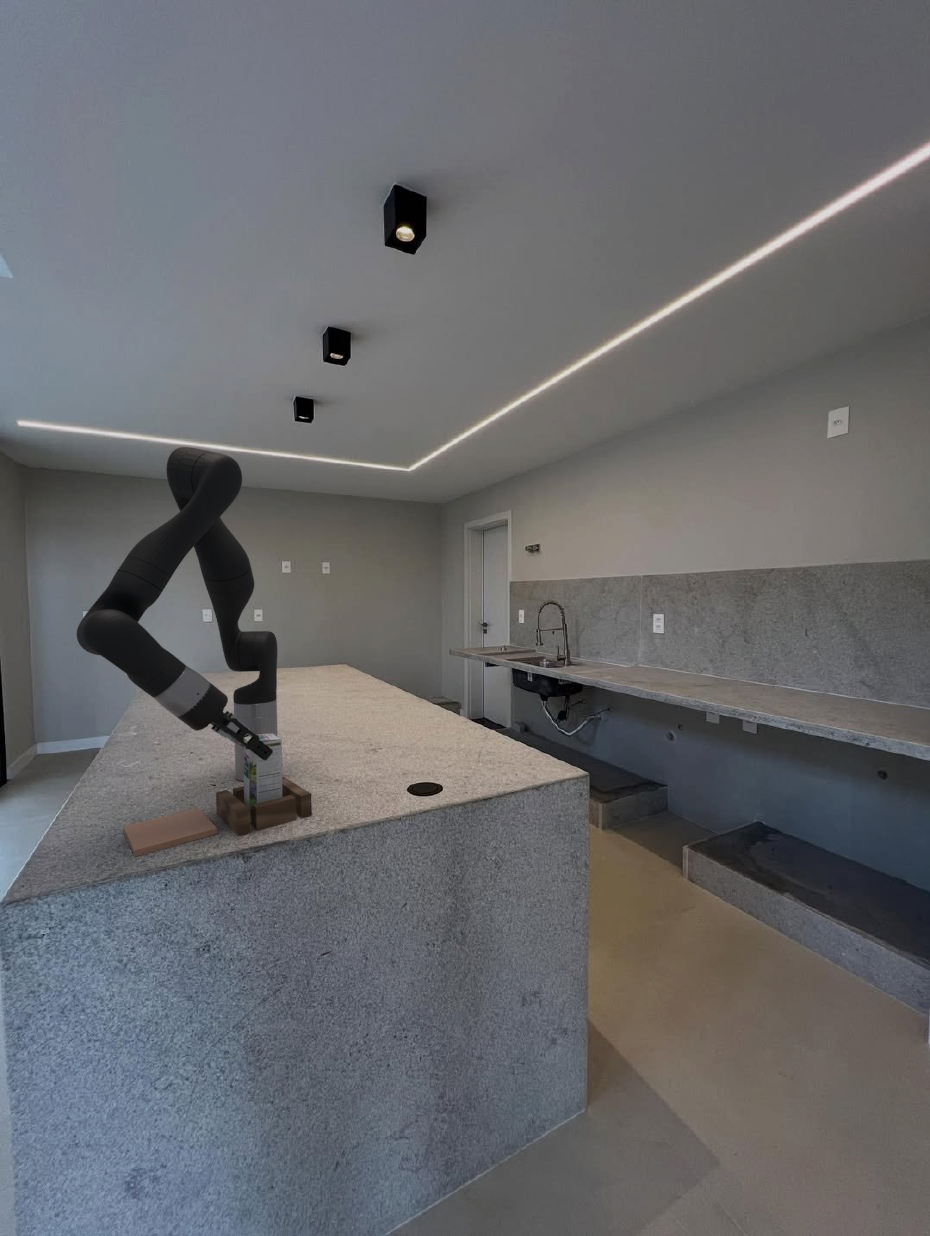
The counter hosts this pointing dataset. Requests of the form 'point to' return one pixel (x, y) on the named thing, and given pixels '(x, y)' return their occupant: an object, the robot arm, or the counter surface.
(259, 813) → the walnut pocket collar
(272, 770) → the syrup box
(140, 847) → the terracotta tile
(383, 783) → the counter surface
